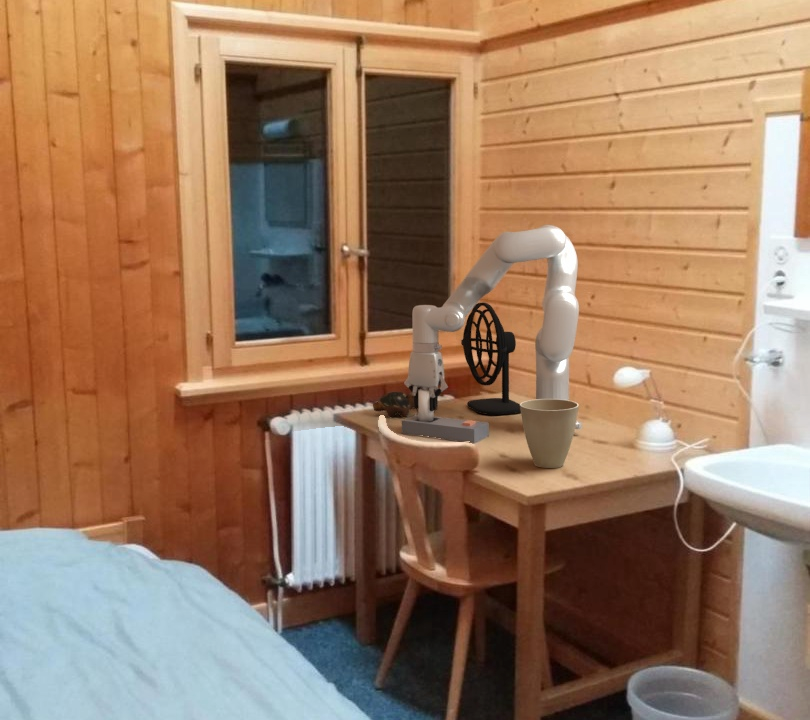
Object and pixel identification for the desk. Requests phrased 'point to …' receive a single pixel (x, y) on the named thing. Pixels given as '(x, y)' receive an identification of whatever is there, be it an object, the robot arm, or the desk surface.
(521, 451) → the desk surface
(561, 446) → the plant pot
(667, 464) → the desk surface
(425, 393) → the white bottle
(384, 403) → the decorative turtle
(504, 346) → the desk fan
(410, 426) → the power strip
